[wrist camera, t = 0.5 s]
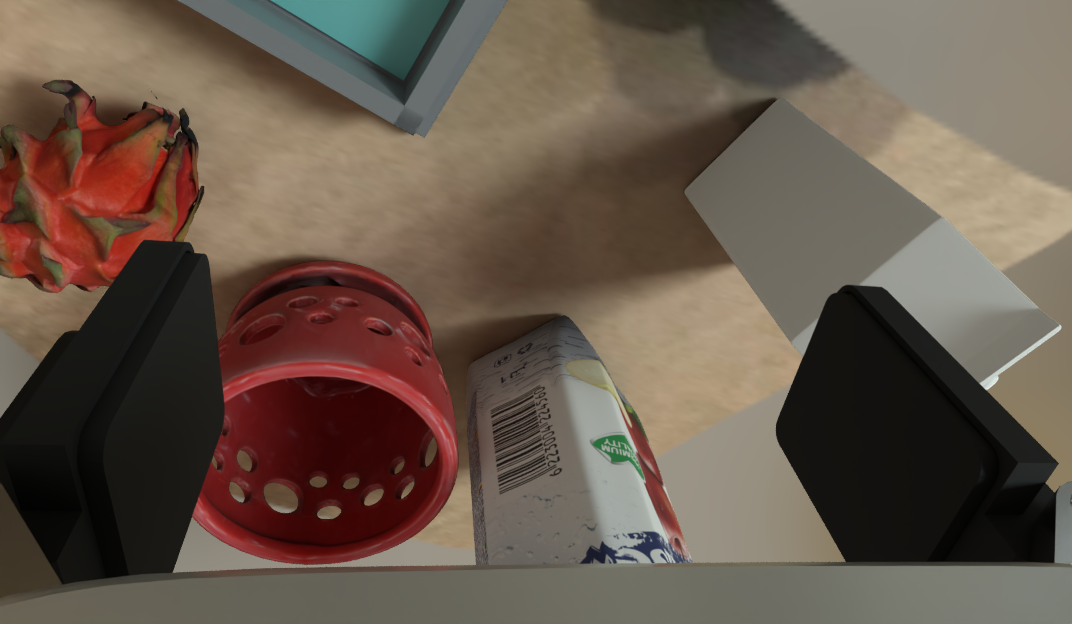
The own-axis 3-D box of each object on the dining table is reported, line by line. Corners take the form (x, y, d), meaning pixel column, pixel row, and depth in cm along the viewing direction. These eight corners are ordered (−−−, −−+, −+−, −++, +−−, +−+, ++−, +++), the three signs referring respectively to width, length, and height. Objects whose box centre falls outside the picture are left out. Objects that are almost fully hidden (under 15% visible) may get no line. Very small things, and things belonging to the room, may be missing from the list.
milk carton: (681, 190, 42) (836, 407, 26) (779, 94, 39) (1015, 269, 23) (756, 259, 45) (935, 490, 29) (851, 174, 42) (1102, 376, 27)
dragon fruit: (27, 213, 39) (201, 77, 38) (110, 343, 39) (290, 208, 38) (-135, 180, 31) (83, 6, 30) (-33, 346, 30) (195, 173, 29)
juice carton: (527, 458, 51) (603, 942, 29) (445, 358, 46) (462, 859, 23) (640, 402, 50) (814, 867, 27) (570, 291, 44) (715, 759, 22)
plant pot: (345, 448, 49) (324, 605, 39) (177, 329, 43) (100, 480, 33) (495, 337, 46) (514, 478, 36) (336, 189, 39) (305, 311, 29)
